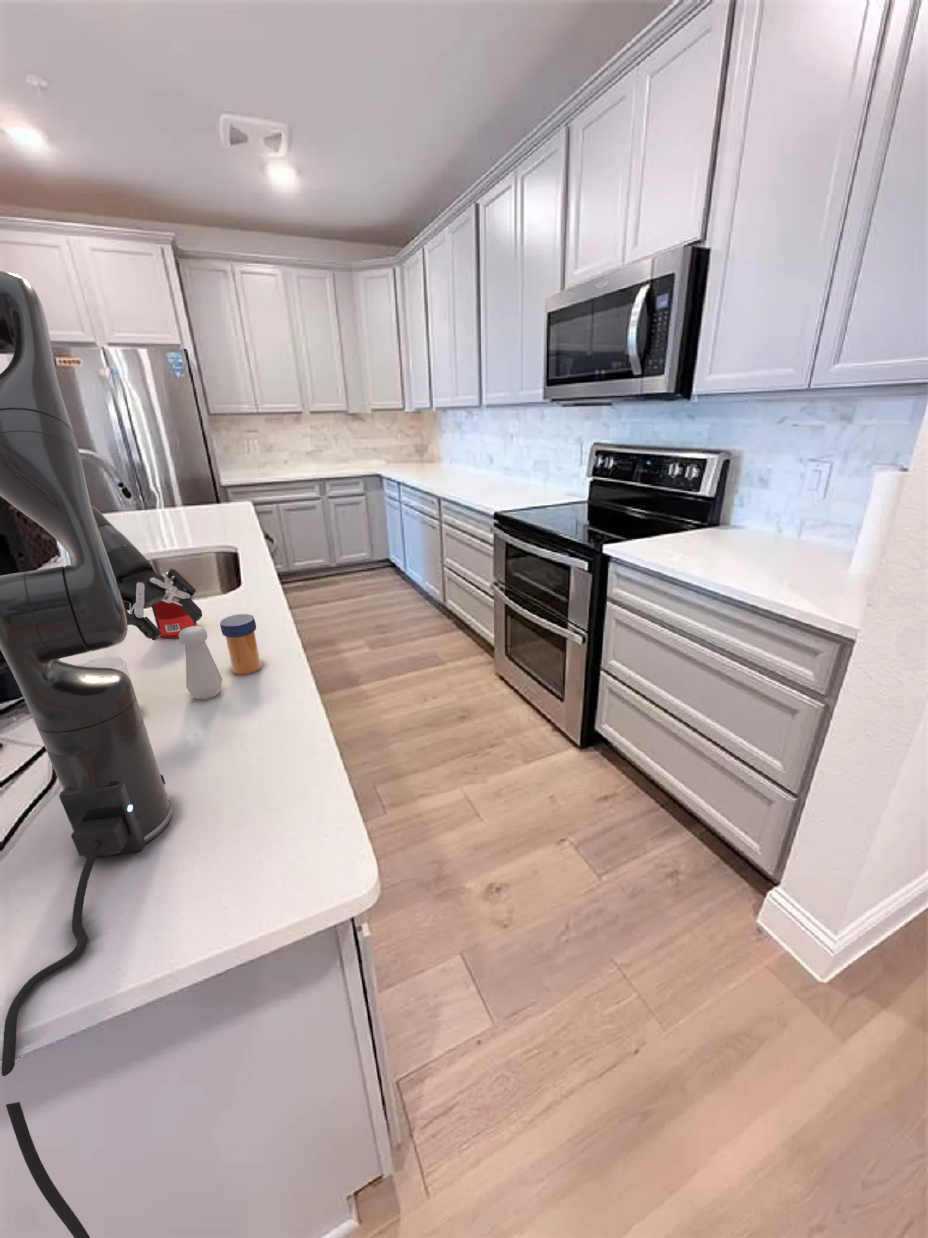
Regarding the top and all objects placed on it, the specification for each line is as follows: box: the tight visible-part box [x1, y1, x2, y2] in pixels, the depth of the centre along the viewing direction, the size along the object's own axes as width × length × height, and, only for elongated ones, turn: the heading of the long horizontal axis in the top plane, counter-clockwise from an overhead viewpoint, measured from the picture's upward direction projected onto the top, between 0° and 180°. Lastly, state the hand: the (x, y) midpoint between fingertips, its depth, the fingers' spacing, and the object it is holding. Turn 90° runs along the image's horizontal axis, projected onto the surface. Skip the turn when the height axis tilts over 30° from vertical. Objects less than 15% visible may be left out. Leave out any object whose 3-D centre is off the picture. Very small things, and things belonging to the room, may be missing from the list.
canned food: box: [150, 583, 198, 639], centre depth 116 cm, size 8×8×11 cm
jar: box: [225, 631, 262, 675], centre depth 99 cm, size 5×5×10 cm
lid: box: [219, 613, 257, 638], centre depth 98 cm, size 6×6×2 cm
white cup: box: [77, 656, 131, 679], centre depth 83 cm, size 8×8×10 cm
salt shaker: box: [178, 625, 223, 701], centre depth 90 cm, size 6×6×13 cm
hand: (179, 627), depth 88 cm, fingers open, 8 cm apart
